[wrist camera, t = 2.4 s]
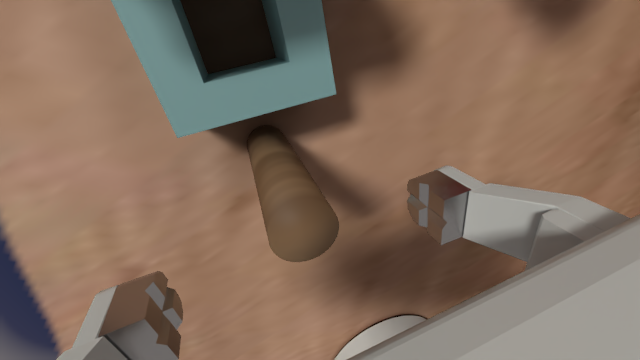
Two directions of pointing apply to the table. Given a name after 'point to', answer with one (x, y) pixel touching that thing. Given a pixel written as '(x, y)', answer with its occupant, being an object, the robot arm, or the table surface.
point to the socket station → (237, 83)
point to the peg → (289, 199)
